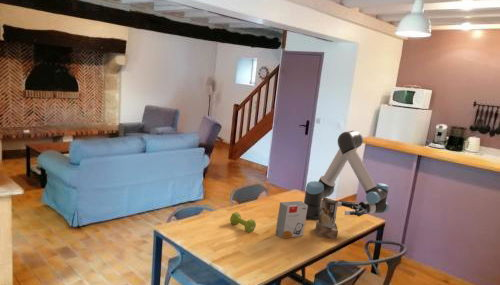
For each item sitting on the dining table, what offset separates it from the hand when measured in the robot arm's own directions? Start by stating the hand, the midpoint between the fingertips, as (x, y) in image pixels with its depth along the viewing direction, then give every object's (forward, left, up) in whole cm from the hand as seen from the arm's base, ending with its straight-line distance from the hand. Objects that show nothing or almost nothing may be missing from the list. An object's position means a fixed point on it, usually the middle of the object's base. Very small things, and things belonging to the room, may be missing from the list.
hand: (338, 208), depth 220 cm
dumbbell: (-51, -29, -17) cm, 61 cm away
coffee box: (-5, -5, -11) cm, 13 cm away
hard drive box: (-23, -20, -17) cm, 35 cm away
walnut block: (-5, -4, -17) cm, 18 cm away
